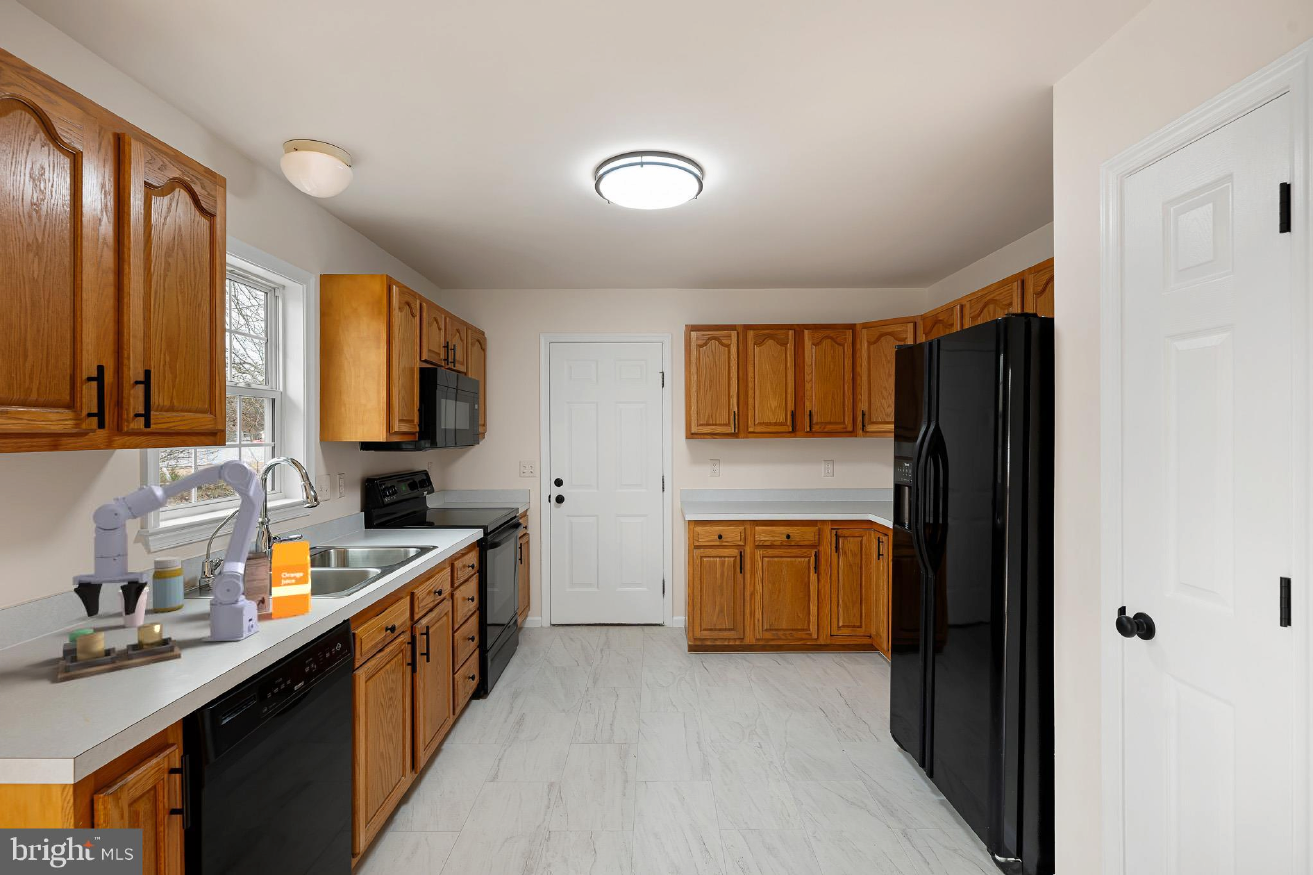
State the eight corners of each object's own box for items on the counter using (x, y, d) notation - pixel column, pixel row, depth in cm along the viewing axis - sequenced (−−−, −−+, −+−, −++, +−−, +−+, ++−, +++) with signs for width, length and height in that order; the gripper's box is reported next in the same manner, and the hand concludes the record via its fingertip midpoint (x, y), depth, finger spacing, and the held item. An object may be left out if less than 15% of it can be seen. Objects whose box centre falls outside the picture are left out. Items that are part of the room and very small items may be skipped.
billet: (163, 646, 144) (163, 621, 144) (161, 652, 140) (161, 625, 140) (139, 650, 141) (138, 624, 141) (136, 656, 138) (136, 629, 138)
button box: (99, 650, 145) (99, 637, 145) (99, 656, 141) (99, 643, 141) (63, 656, 141) (63, 643, 141) (62, 663, 137) (62, 650, 137)
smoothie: (113, 626, 163) (112, 574, 163) (142, 620, 169) (141, 569, 169) (125, 630, 160) (124, 576, 160) (154, 623, 166) (153, 571, 166)
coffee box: (237, 609, 178) (236, 553, 178) (262, 604, 183) (262, 550, 183) (244, 615, 172) (243, 558, 172) (270, 610, 177) (269, 554, 176)
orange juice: (276, 611, 176) (274, 541, 176) (311, 607, 179) (310, 539, 179) (272, 618, 169) (270, 546, 169) (308, 614, 172) (307, 543, 172)
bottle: (163, 606, 182) (162, 556, 182) (189, 605, 183) (188, 555, 183) (146, 613, 175) (146, 561, 175) (173, 612, 176) (172, 560, 176)
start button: (93, 635, 144) (93, 627, 144) (93, 639, 141) (93, 631, 141) (69, 639, 141) (69, 631, 141) (69, 643, 138) (68, 635, 138)
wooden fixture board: (175, 643, 149) (174, 614, 149) (181, 657, 139) (180, 626, 139) (60, 665, 135) (59, 633, 135) (57, 682, 126) (57, 648, 126)
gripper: (157, 551, 145) (158, 608, 145) (89, 553, 144) (89, 611, 144) (136, 556, 138) (137, 617, 138) (64, 559, 137) (65, 620, 137)
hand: (111, 614), depth 141 cm, fingers open, 7 cm apart
